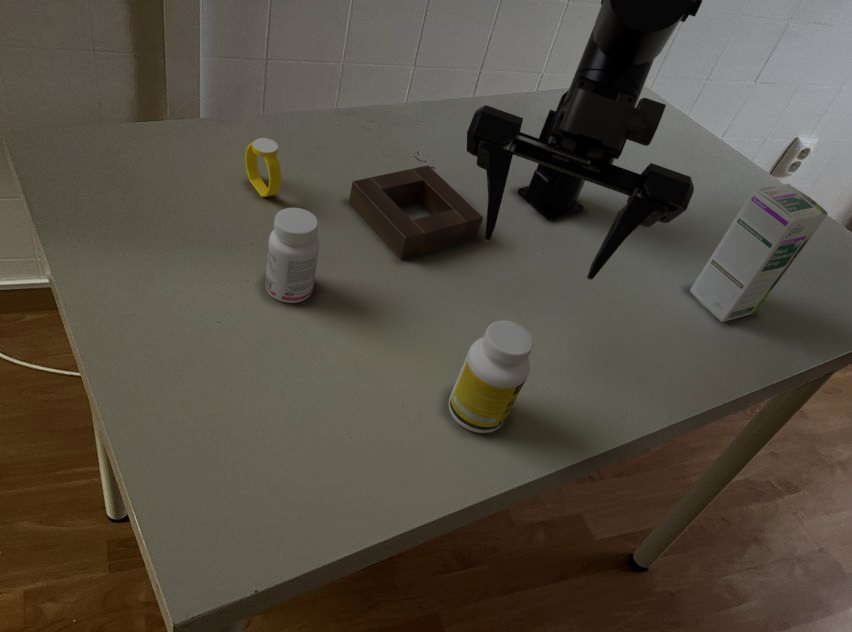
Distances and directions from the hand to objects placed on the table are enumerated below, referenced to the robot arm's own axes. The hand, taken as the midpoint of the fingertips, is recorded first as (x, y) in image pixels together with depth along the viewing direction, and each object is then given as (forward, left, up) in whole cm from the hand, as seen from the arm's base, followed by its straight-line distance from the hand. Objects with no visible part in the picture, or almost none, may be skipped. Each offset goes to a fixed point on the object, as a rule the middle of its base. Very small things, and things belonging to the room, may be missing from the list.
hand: (537, 259), depth 60 cm
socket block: (-6, -22, -13) cm, 26 cm away
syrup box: (-33, +4, -13) cm, 35 cm away
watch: (+8, -33, -13) cm, 36 cm away
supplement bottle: (+5, +4, -13) cm, 15 cm away
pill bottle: (+13, -17, -13) cm, 25 cm away
